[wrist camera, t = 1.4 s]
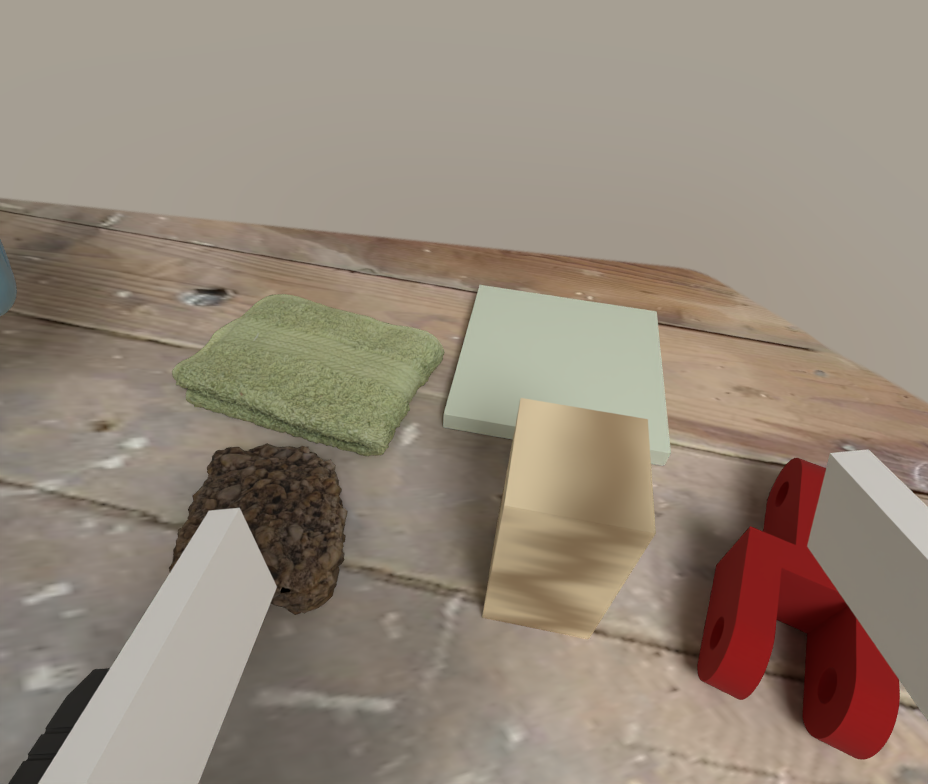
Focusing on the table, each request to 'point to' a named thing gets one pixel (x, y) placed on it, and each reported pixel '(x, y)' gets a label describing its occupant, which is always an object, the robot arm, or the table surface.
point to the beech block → (569, 517)
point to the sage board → (557, 363)
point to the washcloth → (312, 372)
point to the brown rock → (279, 517)
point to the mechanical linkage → (797, 624)
